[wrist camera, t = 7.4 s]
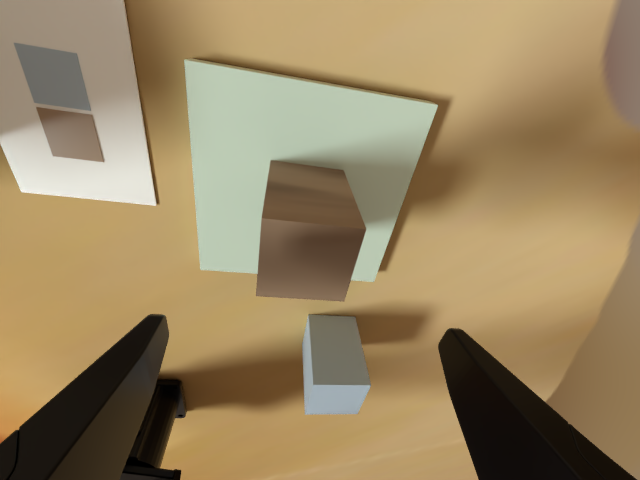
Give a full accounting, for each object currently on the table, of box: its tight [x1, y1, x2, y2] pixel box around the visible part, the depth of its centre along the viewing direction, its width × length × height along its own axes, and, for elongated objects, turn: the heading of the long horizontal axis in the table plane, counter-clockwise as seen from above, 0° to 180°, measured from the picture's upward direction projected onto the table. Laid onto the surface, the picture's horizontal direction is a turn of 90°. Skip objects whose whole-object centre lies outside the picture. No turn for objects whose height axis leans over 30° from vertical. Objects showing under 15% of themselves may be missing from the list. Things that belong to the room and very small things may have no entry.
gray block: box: [302, 314, 371, 414], centre depth 23 cm, size 4×4×6 cm
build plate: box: [184, 58, 438, 282], centre depth 18 cm, size 12×12×1 cm
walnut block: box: [256, 160, 366, 301], centre depth 15 cm, size 4×4×6 cm
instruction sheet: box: [0, 0, 157, 206], centre depth 14 cm, size 10×7×1 cm
